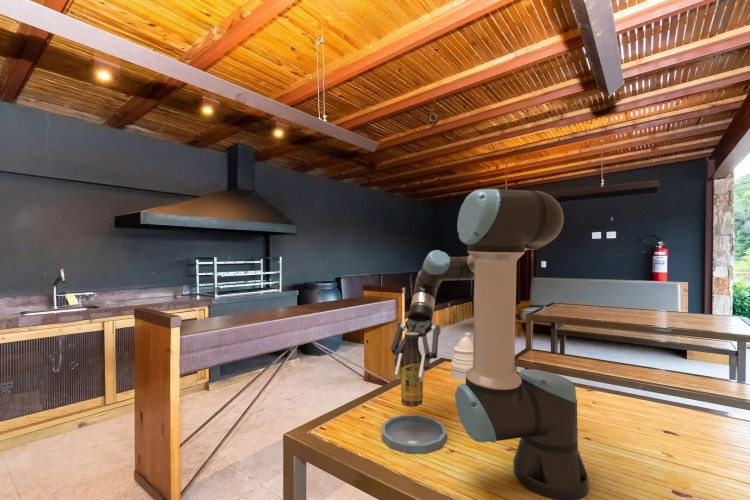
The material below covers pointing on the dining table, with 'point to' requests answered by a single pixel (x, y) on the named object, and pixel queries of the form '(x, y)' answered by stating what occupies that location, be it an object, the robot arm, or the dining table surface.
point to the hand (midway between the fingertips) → (408, 377)
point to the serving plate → (414, 434)
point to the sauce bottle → (411, 372)
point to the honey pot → (462, 358)
